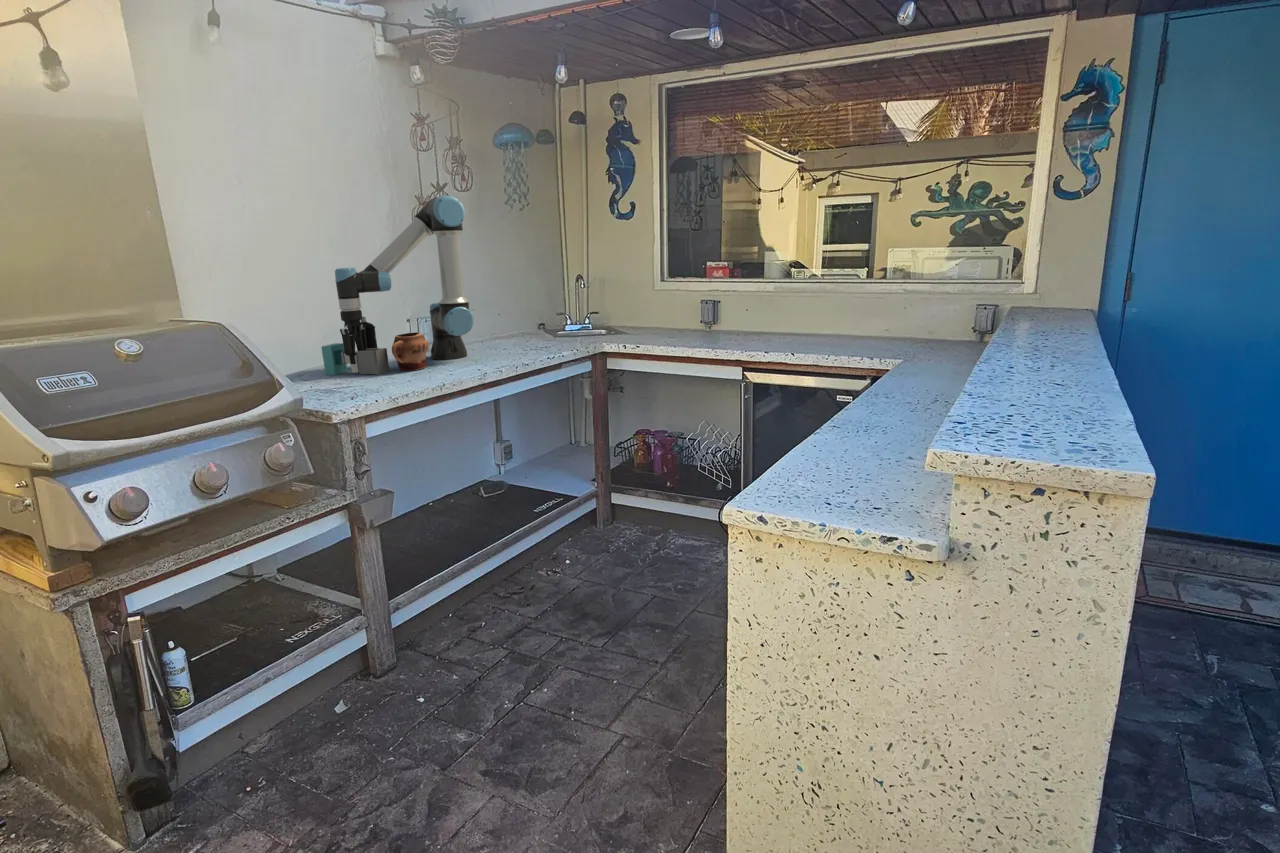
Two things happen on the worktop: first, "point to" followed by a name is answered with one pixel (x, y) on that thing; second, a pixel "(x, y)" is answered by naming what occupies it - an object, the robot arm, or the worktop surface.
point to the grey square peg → (346, 358)
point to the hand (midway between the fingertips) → (359, 371)
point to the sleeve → (373, 361)
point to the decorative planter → (410, 351)
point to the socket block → (333, 359)
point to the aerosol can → (370, 334)
